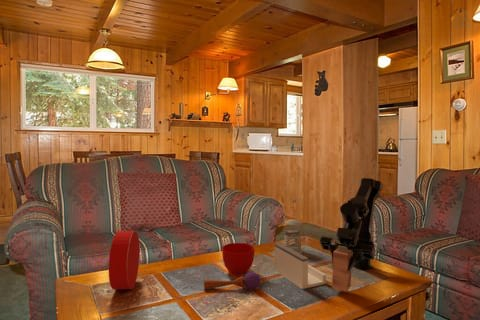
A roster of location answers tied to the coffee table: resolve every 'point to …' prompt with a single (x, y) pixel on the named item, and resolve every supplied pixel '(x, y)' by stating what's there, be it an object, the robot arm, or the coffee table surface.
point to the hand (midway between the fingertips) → (340, 268)
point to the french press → (293, 231)
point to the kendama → (236, 282)
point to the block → (341, 269)
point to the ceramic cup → (238, 257)
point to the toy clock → (124, 260)
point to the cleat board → (296, 268)
